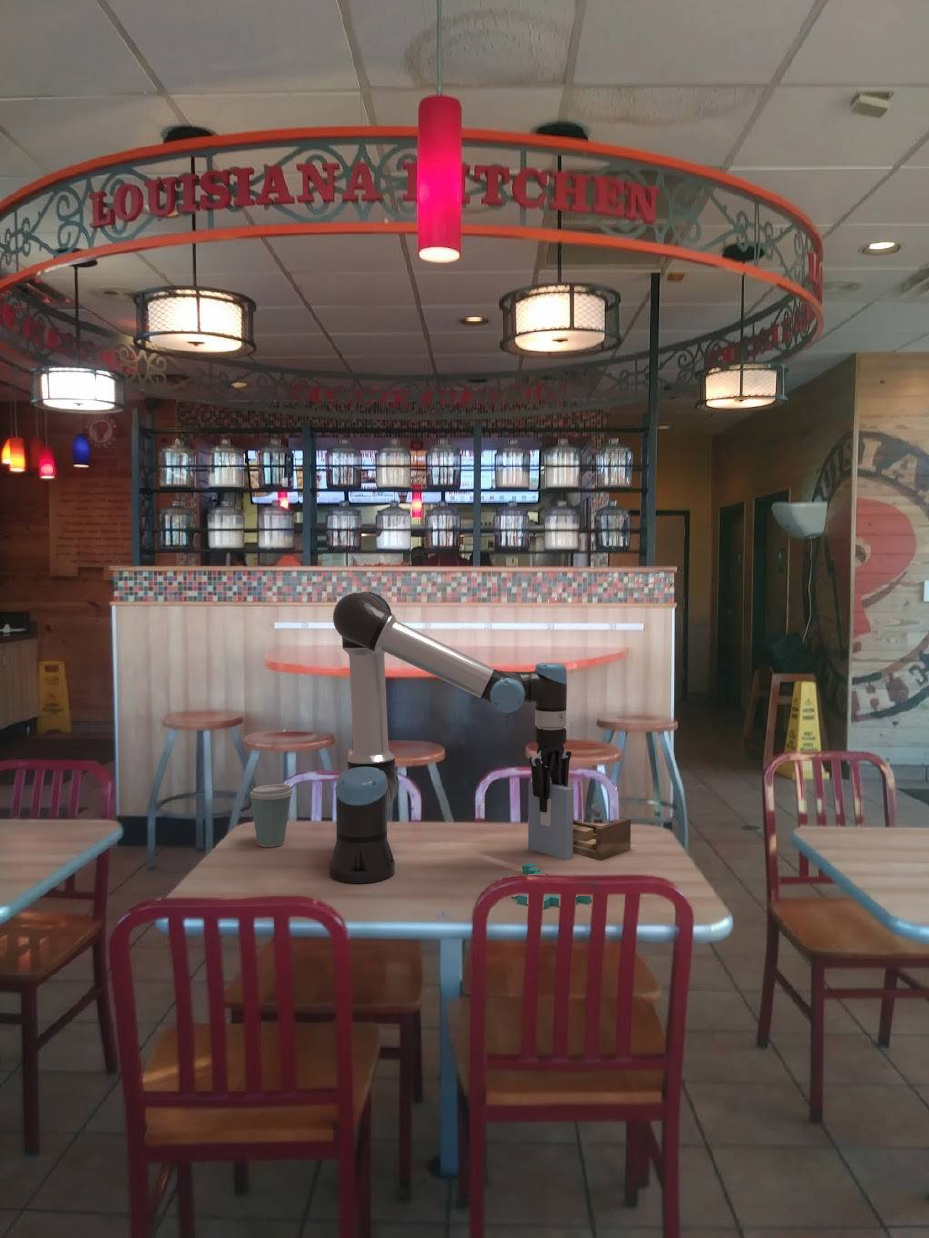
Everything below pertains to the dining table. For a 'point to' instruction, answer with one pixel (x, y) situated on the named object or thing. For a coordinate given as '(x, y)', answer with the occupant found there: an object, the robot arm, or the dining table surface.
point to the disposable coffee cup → (270, 813)
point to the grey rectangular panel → (552, 823)
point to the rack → (606, 839)
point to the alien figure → (549, 899)
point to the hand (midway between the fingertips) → (550, 823)
